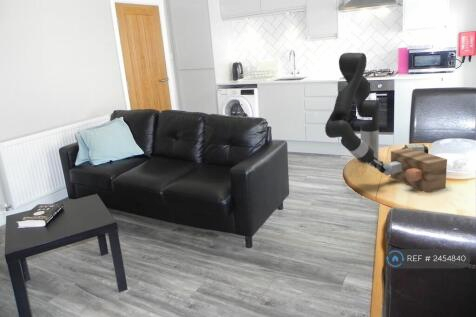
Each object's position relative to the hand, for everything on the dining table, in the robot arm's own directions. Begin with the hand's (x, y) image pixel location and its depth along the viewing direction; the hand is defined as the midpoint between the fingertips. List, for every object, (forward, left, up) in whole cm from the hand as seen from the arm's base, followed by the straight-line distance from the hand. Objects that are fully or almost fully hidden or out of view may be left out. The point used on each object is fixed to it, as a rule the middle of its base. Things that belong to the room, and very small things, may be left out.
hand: (383, 171), depth 184 cm
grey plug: (0, +7, -2) cm, 7 cm away
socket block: (+6, +13, -6) cm, 16 cm away
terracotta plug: (+12, +9, -2) cm, 16 cm away
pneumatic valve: (-12, +28, -6) cm, 32 cm away
